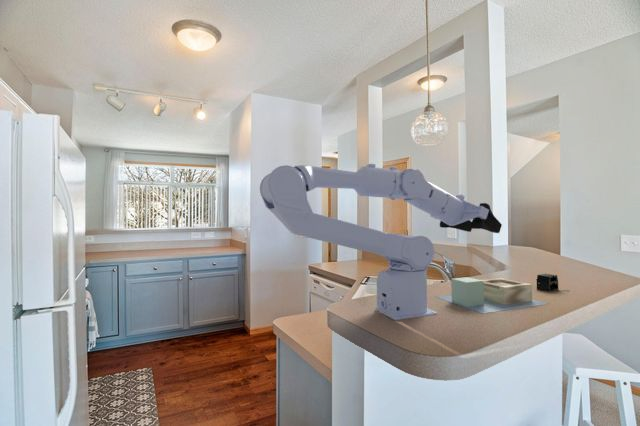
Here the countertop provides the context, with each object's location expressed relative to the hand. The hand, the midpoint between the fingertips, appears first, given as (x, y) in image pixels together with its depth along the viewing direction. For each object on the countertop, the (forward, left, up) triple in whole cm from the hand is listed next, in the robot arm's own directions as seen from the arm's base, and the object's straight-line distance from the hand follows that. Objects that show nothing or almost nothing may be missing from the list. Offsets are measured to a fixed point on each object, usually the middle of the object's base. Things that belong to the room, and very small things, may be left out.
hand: (484, 228), depth 71 cm
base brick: (+5, 0, -16) cm, 17 cm away
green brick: (-5, 0, -16) cm, 17 cm away
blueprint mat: (+1, 0, -16) cm, 16 cm away
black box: (+23, +2, -17) cm, 28 cm away
